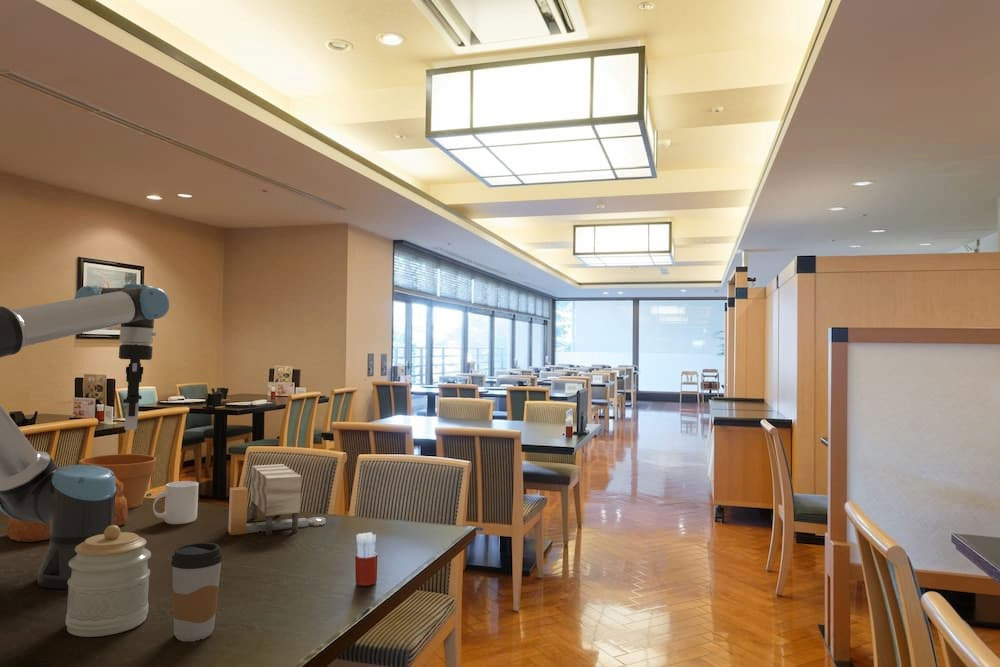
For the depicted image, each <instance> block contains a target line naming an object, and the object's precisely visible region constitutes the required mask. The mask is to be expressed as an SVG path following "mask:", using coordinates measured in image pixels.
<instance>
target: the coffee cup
mask: <svg viewBox="0 0 1000 667" xmlns="http://www.w3.org/2000/svg"><path fill="white" fill-rule="evenodd" d="M223 560H224V559H223V551H222V550H221V547H220V545H219V544H218V543H213V542H196V543H195V542H193V543H189V544H188V543H187V544H184V545H181V546H178V547H176V548H175V549H174V553H173V555H172V557H171V563H170V565H171V566H172V588H171V589H172V595H171V596H172V617H173V635H174V636H175V639H176V638H177V639H178V640H177V639H176V640H177V641H180V640H181V641H180V642H187V641H188V642H197V641H200V639H201V640H204V639H206V638H208V637H210V636H211V635H212V633H213V631H214V629H215V623H216V622H215V621H216V613H217V609H218V608H217V606H218V598H219V591H220V576H221V568H222V562H223ZM196 640H197V641H196Z"/></svg>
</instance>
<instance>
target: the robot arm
mask: <svg viewBox="0 0 1000 667" xmlns="http://www.w3.org/2000/svg"><path fill="white" fill-rule="evenodd" d="M169 309H170V299H169V296H168V294H167V293H166V292H165V290H163V289H162V288H159V287H154V286H151V285H148V284H138V283H126V284H124V285H123V287H101V286H97V285H94V286H93V285H92V286H91V285H90V286H89V285H86V286H82V287H80V288H79V289H78V290H77V291H76V293H75V295H74V298H72V299H66V300H61V301H54V302H49V303H44V304H38V305H31V306H26V307H21V308H15V309H10V308H9V307H7V306H2V305H1V306H0V359H1V358H5V357H7V356H12V355H16V354H18V353H20V351H21V350H22V349H23V348H24V347H28V346H32V345H35V344H36V345H37V344H40V343H44V342H48V341H49V342H50V341H54V340H58V339H62V338H63V339H64V338H66V337H70V336H75V335H79V334H85V333H88V332H89V333H90V332H94V331H96V330H101V329H105V328H109V327H113V326H118V325H120V329H119V342H120V343H121V344H120V345H119V346H118V347H119V349H118V358H119V359H120V360H130V361H129V364H128V366H126V367H125V374H126V380H125V381H126V382H127V393H126V398H125V399H124V398H123V402H122V403H123V404H125V413H124V414H125V417H124V430H125V431H126V430H127V431H128V430H130V431H133V430H134V431H135V430H138V420H139V419H138V418H139V407H140V406H139V405H140V401H139V400H142V395H140V383H142V379H143V374H144V366H142V363H141V361H150V360H152V358H153V346H152V345H151V344H153V340H154V338H153V337H155V336H156V334H157V332H154V327H155V320H157V319H158V320H159V319H161V318H163V317H165V315H167V313H168V312H169ZM115 493H116V486H115V475H114V473H113V472H112V471H111V470H109V469H107V468H104V467H101V466H94V465H91V466H88V465H79V464H72V465H71V464H69V465H64V466H60V467H59V466H58V465H57V463H56V461H54V459H53V458H52V457H51V456H50V454H49V453H48V452H46V451H40V450H39V451H37V450H36V449H35V447H34V446H33V445H32V444H31V442H30V441H29V439H28V438H27V437H26V435H25V434H24V433H23V431H22V430H21V429H20V427H19V426H18V425H17V424H16V422H15V421H14V419H12V417H11V415H10V414H9V413H8V411H7V410H6V409H5V407H4V406H3V405H2V404H1V402H0V512H1V513H2V514H4V515H6V516H8V517H9V516H10V517H12V518H14V519H18V520H22V521H32V522H38V523H45V524H50V539H49V544H48V547H47V550H46V552H45V555H44V557H43V559H42V562H41V563H40V567H39V568H38V571H37V585H38V586H40V587H42V588H45V589H56V590H58V589H59V590H60V589H64V590H65V589H68V583H67V582H68V580H69V578H70V577H71V573H72V568H70V566H69V564H68V563H69V561H70V560H71V559H72V558H73V557H75V556H76V555H77V553H76V552H75V547H76V546H78V545H79V544H81V543H83V542H84V541H85V540H86V539H87V538H90V537H92V536H96V535H100V534H104V531H105V529H106V528H107V527H108V526H111V525H113V523H114V508H115Z"/></svg>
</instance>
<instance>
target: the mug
mask: <svg viewBox="0 0 1000 667" xmlns="http://www.w3.org/2000/svg"><path fill="white" fill-rule="evenodd" d="M162 498H164V511H163V512H157V510H156V509H155V506H156V503H157V502H158V500H160V499H162ZM198 500H199V482H197V481H192V480H181V481H173V482H168V483H166V484H165V489H164V490H163V491H161V492H160V493H158V494H157V495H156V496H155V498H154V499H153V503H152V511H153V514H154V515H155V517H156V518H159V519H164V522H165V523H166V524H169V525H185V524H189V523H193V522H195V521H196V520H197V518H198V503H199V501H198Z"/></svg>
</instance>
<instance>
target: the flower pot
mask: <svg viewBox="0 0 1000 667" xmlns="http://www.w3.org/2000/svg"><path fill="white" fill-rule="evenodd" d="M78 465H88V466H91V465H94V466H101V467H104V468H107V469H109V470H111V471H112V472H113V473H114V475H115V476H116V478H117V480H119V481H120V482H122V483H123V487H124V492H123V496H124V497H125V499H126V501H127V509H128V510H130V509H134V508H135V509H136V508H138V507H141V505H142V504H143V502H144V499H145V495H146V492H147V490H148V488H149V484H150V479H151V476H152V475H153V473H155V471H156V465H157V457H156V456H153V455H148V454H138V453H115V454H114V453H113V454H102V455H93V456H88V457H84V458H81V459H79V460H78Z"/></svg>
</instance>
